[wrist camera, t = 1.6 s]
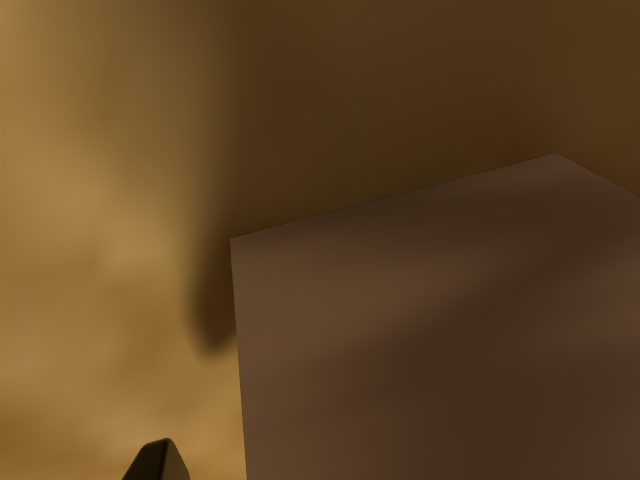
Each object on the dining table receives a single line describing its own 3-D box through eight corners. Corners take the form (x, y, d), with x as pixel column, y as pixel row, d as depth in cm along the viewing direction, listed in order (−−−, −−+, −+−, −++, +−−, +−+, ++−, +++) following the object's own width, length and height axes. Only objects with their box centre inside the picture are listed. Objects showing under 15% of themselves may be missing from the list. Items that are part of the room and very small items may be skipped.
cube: (553, 151, 9) (980, 378, 4) (547, 389, 11) (796, 698, 7) (229, 236, 8) (255, 605, 3) (302, 461, 11) (373, 847, 6)
